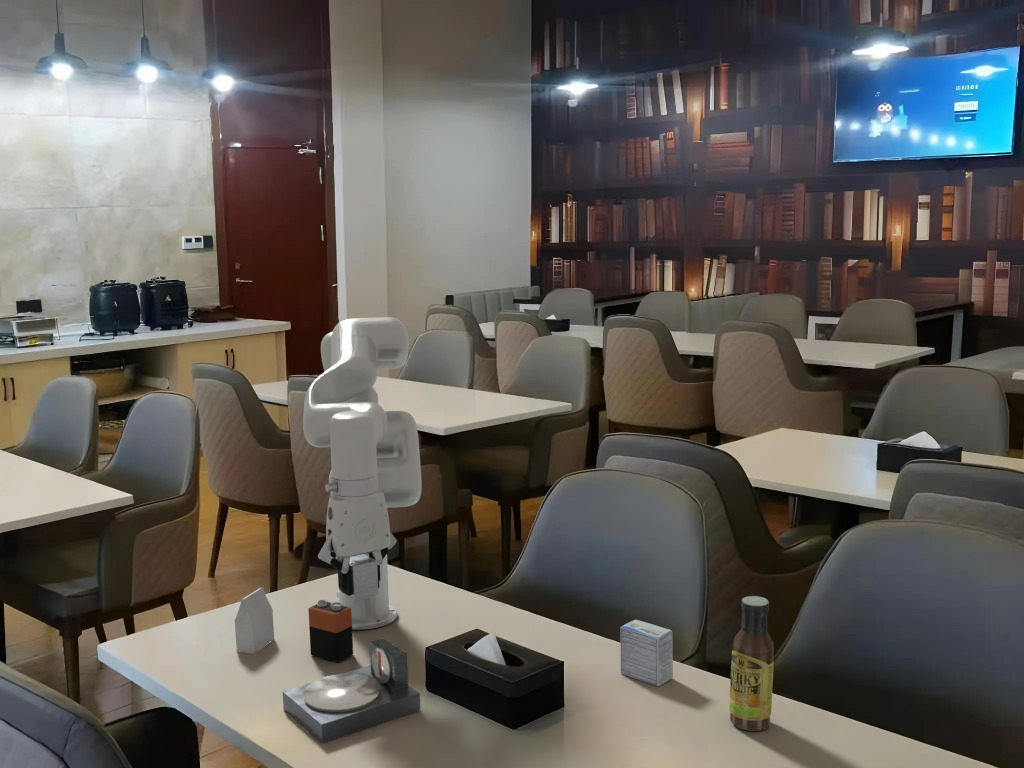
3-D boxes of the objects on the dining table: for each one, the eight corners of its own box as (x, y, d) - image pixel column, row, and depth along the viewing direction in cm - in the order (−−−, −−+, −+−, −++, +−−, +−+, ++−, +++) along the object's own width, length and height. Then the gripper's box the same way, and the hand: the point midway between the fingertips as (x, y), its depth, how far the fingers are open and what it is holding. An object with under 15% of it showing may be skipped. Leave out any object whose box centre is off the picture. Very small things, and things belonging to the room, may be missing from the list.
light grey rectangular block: (342, 592, 181) (340, 559, 180) (365, 586, 183) (364, 553, 182) (354, 600, 177) (353, 566, 176) (378, 594, 180) (376, 560, 179)
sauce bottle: (721, 723, 162) (722, 599, 159) (744, 710, 166) (747, 588, 163) (756, 738, 157) (759, 610, 154) (780, 724, 162) (783, 599, 158)
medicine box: (673, 679, 178) (673, 630, 176) (658, 688, 174) (658, 638, 173) (635, 666, 183) (635, 618, 182) (619, 674, 180) (619, 626, 178)
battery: (338, 664, 186) (335, 609, 184) (309, 656, 190) (306, 602, 188) (354, 655, 190) (352, 601, 188) (326, 647, 193) (323, 595, 192)
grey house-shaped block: (274, 639, 198) (271, 588, 196) (254, 653, 191) (251, 600, 190) (257, 637, 199) (253, 586, 197) (236, 651, 192) (233, 598, 191)
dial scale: (283, 709, 170) (280, 657, 168) (377, 680, 179) (375, 631, 178) (322, 743, 158) (319, 688, 157) (420, 710, 168) (418, 658, 167)
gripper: (318, 499, 169) (324, 608, 172) (410, 481, 179) (414, 584, 182) (298, 489, 175) (304, 594, 178) (388, 472, 185) (392, 572, 188)
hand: (359, 588), depth 180 cm, fingers closed on light grey rectangular block, 4 cm apart
